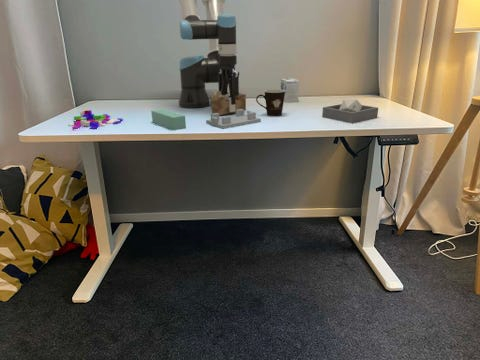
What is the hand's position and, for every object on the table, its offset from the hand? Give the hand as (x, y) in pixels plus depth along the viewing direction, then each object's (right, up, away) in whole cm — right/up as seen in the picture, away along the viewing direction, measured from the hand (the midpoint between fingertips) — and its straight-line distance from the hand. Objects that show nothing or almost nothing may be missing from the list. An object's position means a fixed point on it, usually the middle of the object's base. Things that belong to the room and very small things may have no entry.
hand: (228, 110), depth 160 cm
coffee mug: (+18, -2, -3) cm, 19 cm away
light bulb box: (+30, +10, +28) cm, 42 cm away
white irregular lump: (+50, -5, -11) cm, 51 cm away
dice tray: (+50, -5, -11) cm, 51 cm away
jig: (+2, -8, -16) cm, 18 cm away
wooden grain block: (0, -1, 0) cm, 0 cm away
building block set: (-54, -7, -10) cm, 56 cm away
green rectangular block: (-23, -9, -17) cm, 30 cm away
